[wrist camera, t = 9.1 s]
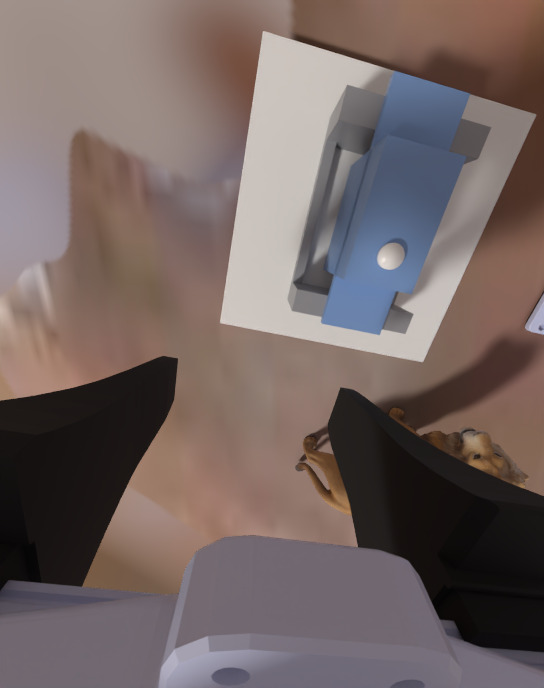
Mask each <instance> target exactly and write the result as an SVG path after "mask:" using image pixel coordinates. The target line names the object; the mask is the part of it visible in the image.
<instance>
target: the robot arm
mask: <svg viewBox="0 0 544 688" xmlns="http://www.w3.org/2000/svg"><path fill="white" fill-rule="evenodd" d="M539 326H540V327H539ZM525 328H526V330H528V331H530V332H534V333H539V334H543V335H544V294H543V296H542V297H541V299H540V301H539V302H538V304H537V306H536V308H535V309H534V311H533V313H532V314H531V316H530V318H529V320H528V321H527V323H526V326H525ZM177 363H178V359H177V358H172V357H166V356H162V357H159V358H156V359H153V360H151V361H149V362H146V363H144V364H141V365H139V366H137V367H134V368H132V369H129V370H127V371H124V372H121V373H119V374H116V375H113V376H110V377H108V378H105V379H102V380H99V381H96V382H92V383H89V384H85V385H81V386H78V387H74V388H70V389H65V390H60V391H55V392H51V393H46V394H41V395H36V396H30V397H23V398H17V399H9V400H2V401H0V688H544V496H541V495H539V494H536V493H534V492H531V491H529V490H526V489H524V488H521V487H518V486H516V485H513V484H511V483H508V482H506V481H503V480H501V479H499V478H497V477H494V476H492V475H490V474H488V473H486V472H483V471H481V470H479V469H477V468H475V467H473V466H471V465H469V464H467V463H465V462H463V461H461V460H459V459H457V458H455V457H453V456H451V455H449V454H447V453H446V452H444V451H442V450H440V449H438V448H437V447H435V446H433V445H432V444H430V443H428V442H427V441H425V440H423V439H422V438H420V437H419V436H417V435H416V434H414V433H412V432H411V431H410V430H408V429H407V428H405V427H404V426H402V425H401V424H400V423H398V422H397V421H395V420H394V419H393V418H391V417H390V416H389V415H387V414H386V413H385V412H383V411H382V410H381V409H380V408H378V407H377V406H376V405H374V404H373V403H372V402H370V401H369V400H368V399H367V398H365V397H364V396H362V395H361V394H360V393H358V392H356V391H355V390H352V389H346V388H340V391H339V394H338V396H337V399H336V402H335V405H334V408H333V411H332V414H331V416H330V419H329V422H328V430H329V437H330V442H331V446H332V450H333V453H334V456H335V459H336V462H337V465H338V469H339V472H340V475H341V478H342V481H343V484H344V487H345V490H346V493H347V497H348V500H349V504H350V509H351V514H352V518H353V523H354V528H355V533H356V538H357V543H358V547H350V546H342V545H333V544H325V543H316V542H307V541H299V540H290V539H282V538H273V537H265V536H256V535H249V536H232V537H224V538H222V539H220V540H217V541H215V542H213V543H211V544H209V545H207V546H205V547H203V548H201V549H200V550H198V551H196V553H195V554H194V556H193V558H192V559H191V561H190V562H189V564H188V566H187V567H186V569H185V572H184V576H183V580H182V584H181V588H180V592H179V593H177V594H168V595H165V594H155V593H154V594H153V593H143V592H133V591H121V590H110V589H100V588H89V587H82V585H83V583H84V580H85V578H86V576H87V573H88V571H89V569H90V566H91V564H92V561H93V559H94V557H95V555H96V552H97V550H98V548H99V546H100V543H101V541H102V539H103V536H104V534H105V532H106V530H107V527H108V525H109V523H110V521H111V518H112V516H113V514H114V512H115V510H116V508H117V506H118V503H119V501H120V499H121V497H122V495H123V493H124V491H125V489H126V487H127V485H128V483H129V480H130V478H131V476H132V474H133V473H134V471H135V469H136V467H137V465H138V464H139V462H140V460H141V459H142V457H143V455H144V454H145V452H146V451H147V449H148V447H149V446H150V444H151V442H152V441H153V439H154V438H155V436H156V434H157V433H158V431H159V429H160V428H161V426H162V424H163V423H164V421H165V419H166V417H167V415H168V413H169V410H170V408H171V406H172V403H173V401H174V395H175V385H176V374H177Z"/></svg>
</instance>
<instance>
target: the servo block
mask: <svg viewBox="0 0 544 688" xmlns="http://www.w3.org/2000/svg"><path fill="white" fill-rule="evenodd" d="M469 96H470V93H467V92H464V91H460V90H457V89H454V88H450V87H447V86H444V85H440V84H437V83H434V82H430V81H427V80H424V79H420V78H417V77H414V76H411V75H407V74H404V73H401V72H397V71H394V73H393V74H392V75H391V77H390V81H389V84H388V88H387V91H386V95H385V98H384V102H383V105H382V109H381V112H380V116H379V119H378V123H377V126H376V130H375V133H374V137H373V140H372V143H371V147H370V150H369V151H368V152H367V153H365V154H364V155H363V156H362V157H361V158H360V159H359V160H357V161H356V162H355V163H354V164H353V165H352V166H351V168H350V171H349V175H348V179H347V183H346V186H345V190H344V194H343V197H342V201H341V205H340V209H339V212H338V216H337V220H336V223H335V227H334V231H333V235H332V238H331V242H330V246H329V249H328V253H327V257H326V261H325V264H324V268H323V270H325V271H327V272H329V273H331V274H333V275H334V276H333V280H332V283H331V287H330V290H329V294H328V297H327V301H326V304H325V308H324V311H323V315H322V318H321V323H322V324H326V325H331V326H336V327H341V328H346V329H351V330H356V331H361V332H366V333H371V334H376V335H380V333H381V330H382V328H383V325H384V322H385V320H386V317H387V314H388V312H389V309H390V306H391V304H392V301H393V298H394V296H395V293H396V291H398V292H403V293H407V294H412V292H413V290H414V287H415V285H416V282H417V280H418V277H419V275H420V272H421V270H422V267H423V265H424V262H425V260H426V257H427V255H428V252H429V250H430V247H431V245H432V242H433V240H434V237H435V235H436V232H437V230H438V227H439V225H440V222H441V220H442V217H443V215H444V212H445V210H446V207H447V205H448V202H449V200H450V197H451V195H452V192H453V190H454V187H455V185H456V182H457V180H458V177H459V175H460V172H461V170H462V167H463V165H464V162H465V160H466V157H467V156H464V155H460V154H457V153H453V152H449V149H450V147H451V144H452V142H453V139H454V136H455V134H456V131H457V128H458V126H459V123H460V120H461V118H462V115H463V112H464V110H465V107H466V104H467V102H468V99H469Z"/></svg>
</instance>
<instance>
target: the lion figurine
mask: <svg viewBox="0 0 544 688" xmlns="http://www.w3.org/2000/svg"><path fill="white" fill-rule="evenodd" d="M403 414H404V412H403V410H401V409H400V408H392V409H391V410H390V412H389V414H388V415H389V416H390V417H391V418H393V419H394V420H395V421H397V422H398V423H400V424H401V425H402V426H404V427H405V428H407V429H408V430H410V431H411V432H412V433H414V434H416V435H417V436H419V437H420V438H422V439H423V440H425V441H427V442H428V443H430V444H432V445H433V446H435V447H437V448H438V449H440V450H442V451H444V452H446V453H447V454H449V455H451V456H453V457H455V458H457V459H459V460H461V461H463V462H465V463H467V464H469V465H471V466H473V467H475V468H477V469H479V470H481V471H483V472H486V473H488V474H490V475H492V476H494V477H497V478H499V479H501V480H503V481H506V482H508V483H511V484H513V485H516V486H518V487H521V488H525V484H524V482H525V481H527V480H528V479H529V476H528V475H526V474H524V473H523V472H522V471H521V470H520V469H519V468H518V467H517V465H516V464H515V463H514V462H513V461H512V460H511V458H510V457H509V456H508V455H507V454H506V453H505V452H504V450H503V449H502V448H501V447H500V446H499V445H497V444H495V443H493V442H492V441H491V438H490V435H489V434H488V433H486V432H484V431H476V430H474V429H473V428H471V427H463V428H461V430H460V433H459V432H454V433H451V434H448V435H446V434H444V433H442V432H441V431H434V432H430V433H428V434H423V435H422V436H420V435H419V434H417V433H416V432H415V431H414V429H413V428H412V427H409V426H408V425H406V424H405V423H403V422H402V421H401V419H402V418H403ZM316 446H317V440H316V439H315V438H314V437H307V438H305V439H304V441H303V449H304V452H305V455H306V457H307V459H308V461H309V462H310V463H312V464H315V465H317V466H318V467H319V468H320V469H321V470H322V471H323V472H324V474H325V476H326V478H327V481H328V484H329V487H330V489H329V490H327V489H326V488H325V486H324V485H323V484H322V482H321V481H320V479H319V478H318V477H317V475H316V473H315V472H314V471H313V469H312V468H311V467H310V466H309V465H308V464H306V463H298V465H296V467H295V469H296V470H297V471H303V470H306V471H307V472H308V474H309V476H310V478H311V480H312V483H313V484H314V486H315V488H316V490H317V491H318V493H319V494H320V495H321V497H322V498H323V499H324V500H325V501H326V502H327V503H328V504H329V505H330V506H332V507H334V508H335V509H337V510H339V511H342V512H343V513H345V514H348V515H352V514H351V509H350V504H349V500H348V497H347V493H346V490H345V487H344V484H343V481H342V478H341V475H340V472H339V469H338V465H337V462H336V459H335V456H334V455H333V454H328V453H324V452H319V451H315V450H313V449H314V448H315V447H316Z"/></svg>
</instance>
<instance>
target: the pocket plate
mask: <svg viewBox="0 0 544 688" xmlns="http://www.w3.org/2000/svg"><path fill="white" fill-rule="evenodd" d="M393 73H394V71H393V70H389V69H386V68H383V67H380V66H376V65H373V64H370V63H367V62H363V61H360V60H357V59H353V58H350V57H347V56H344V55H340V54H337V53H334V52H331V51H327V50H324V49H321V48H318V47H314V46H311V45H308V44H305V43H301V42H298V41H295V40H292V39H288V38H285V37H282V36H278V35H275V34H272V33H269V32H265V31H263V36H262V43H261V49H260V56H259V63H258V70H257V77H256V83H255V90H254V97H253V104H252V110H251V117H250V124H249V131H248V137H247V144H246V151H245V158H244V165H243V171H242V178H241V185H240V191H239V198H238V205H237V212H236V218H235V225H234V232H233V239H232V245H231V252H230V259H229V266H228V273H227V279H226V286H225V293H224V300H223V306H222V313H221V320H220V323H223V324H228V325H233V326H239V327H244V328H249V329H254V330H259V331H264V332H270V333H275V334H280V335H285V336H290V337H295V338H300V339H306V340H311V341H316V342H321V343H326V344H331V345H337V346H342V347H347V348H352V349H357V350H362V351H368V352H373V353H378V354H383V355H388V356H393V357H399V358H404V359H409V360H414V361H419V362H423V361H424V358H425V356H426V354H427V352H428V350H429V348H430V345H431V343H432V341H433V339H434V337H435V335H436V332H437V330H438V328H439V326H440V324H441V322H442V319H443V317H444V315H445V313H446V311H447V308H448V306H449V304H450V302H451V300H452V298H453V295H454V293H455V291H456V289H457V287H458V285H459V282H460V280H461V278H462V276H463V274H464V272H465V269H466V267H467V265H468V263H469V261H470V258H471V256H472V254H473V252H474V250H475V248H476V245H477V243H478V241H479V239H480V237H481V235H482V232H483V230H484V228H485V226H486V224H487V221H488V219H489V217H490V215H491V213H492V211H493V208H494V206H495V204H496V202H497V200H498V198H499V195H500V193H501V191H502V189H503V187H504V185H505V182H506V180H507V178H508V176H509V174H510V171H511V169H512V167H513V165H514V163H515V161H516V158H517V156H518V154H519V152H520V150H521V148H522V145H523V143H524V141H525V139H526V137H527V134H528V132H529V130H530V128H531V126H532V124H533V121H534V119H535V117H536V114H533V113H530V112H526V111H523V110H520V109H517V108H513V107H510V106H507V105H504V104H500V103H497V102H494V101H490V100H487V99H484V98H481V97H477V96H474V95H471V94H470V96H469V99H468V102H467V104H466V107H465V110H464V112H463V115H462V118H461V120H460V123H459V126H458V128H457V131H456V134H455V136H454V139H453V142H452V144H451V147H450V149H449V152H453V153H457V154H460V155H464V156H467V157H466V160H465V162H464V165H463V167H462V170H461V172H460V175H459V177H458V180H457V182H456V185H455V187H454V190H453V192H452V195H451V197H450V200H449V202H448V205H447V207H446V210H445V212H444V215H443V217H442V220H441V222H440V225H439V227H438V230H437V232H436V235H435V237H434V240H433V242H432V245H431V247H430V250H429V252H428V255H427V257H426V260H425V262H424V265H423V267H422V270H421V272H420V275H419V277H418V280H417V282H416V285H415V287H414V290H413V292H412V294H407V293H403V292H398V291H396V293H395V296H394V298H393V301H392V304H391V306H390V309H389V312H388V314H387V317H386V320H385V322H384V325H383V328H382V330H381V333H380V335H376V334H371V333H366V332H361V331H356V330H351V329H346V328H341V327H336V326H331V325H326V324H322V323H321V318H322V315H323V311H324V308H325V304H326V301H327V297H328V294H329V290H330V287H331V283H332V280H333V276H334V275H333V274H331V273H329V272H327V271H325V270H323V268H324V264H325V261H326V257H327V253H328V249H329V246H330V242H331V238H332V235H333V231H334V227H335V223H336V220H337V216H338V212H339V209H340V205H341V201H342V197H343V194H344V190H345V186H346V183H347V179H348V175H349V171H350V168H351V166H352V165H353V164H354V163H355V162H356V161H357V160H359V159H360V158H361V157H362V156H363V155H364V154H365V153H367V152H368V151H369V150H370V147H371V143H372V140H373V137H374V133H375V130H376V126H377V123H378V119H379V116H380V112H381V109H382V105H383V102H384V98H385V95H386V91H387V88H388V84H389V81H390V77H391V75H392V74H393Z"/></svg>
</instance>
